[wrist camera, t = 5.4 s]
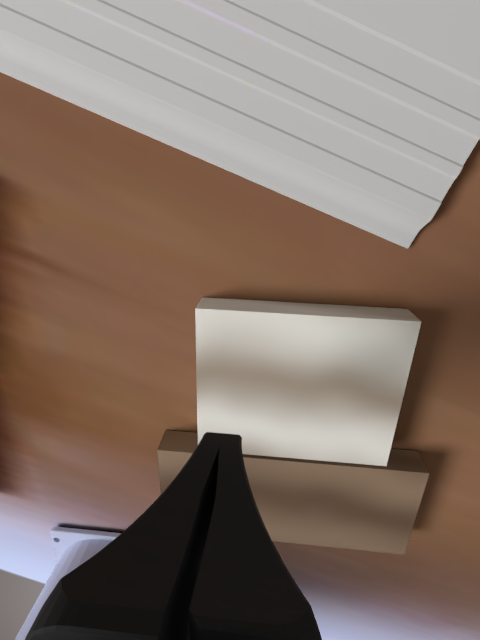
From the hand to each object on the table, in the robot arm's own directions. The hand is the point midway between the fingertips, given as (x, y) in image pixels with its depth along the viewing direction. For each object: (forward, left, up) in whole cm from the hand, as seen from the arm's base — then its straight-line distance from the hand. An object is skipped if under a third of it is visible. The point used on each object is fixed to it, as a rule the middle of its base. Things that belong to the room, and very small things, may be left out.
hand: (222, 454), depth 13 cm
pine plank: (-1, -3, -8) cm, 9 cm away
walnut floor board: (-9, -3, -8) cm, 13 cm away
